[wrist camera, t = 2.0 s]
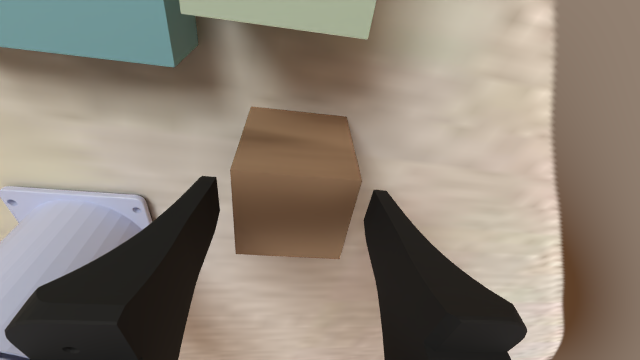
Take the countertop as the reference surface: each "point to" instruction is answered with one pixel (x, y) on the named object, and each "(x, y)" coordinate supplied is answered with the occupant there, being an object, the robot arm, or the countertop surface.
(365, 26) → the sage block
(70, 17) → the teal base block
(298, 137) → the walnut block
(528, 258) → the countertop surface
